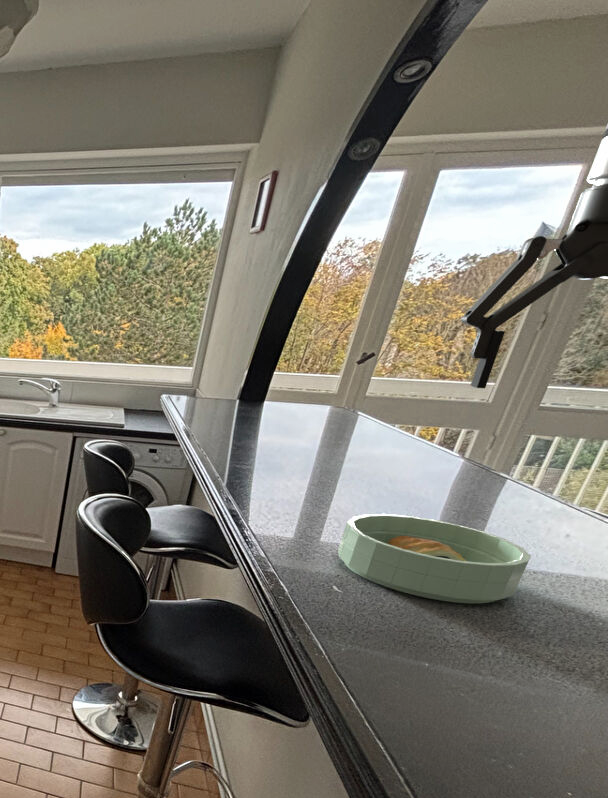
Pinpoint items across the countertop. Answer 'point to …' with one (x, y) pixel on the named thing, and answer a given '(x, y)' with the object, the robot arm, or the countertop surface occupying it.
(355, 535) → the bowl
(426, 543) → the pastry
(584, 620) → the countertop surface
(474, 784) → the countertop surface
